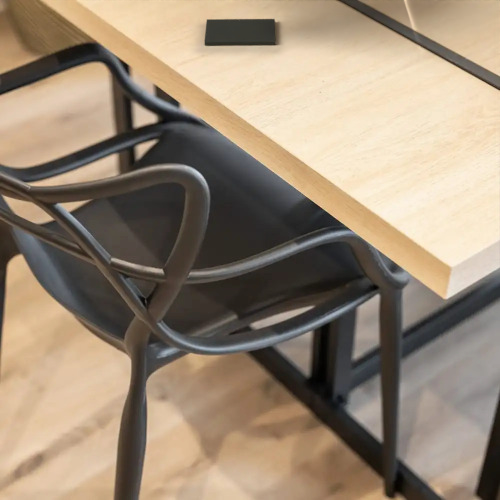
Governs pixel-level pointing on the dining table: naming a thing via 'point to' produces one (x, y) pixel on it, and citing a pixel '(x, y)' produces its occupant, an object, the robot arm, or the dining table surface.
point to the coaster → (240, 32)
